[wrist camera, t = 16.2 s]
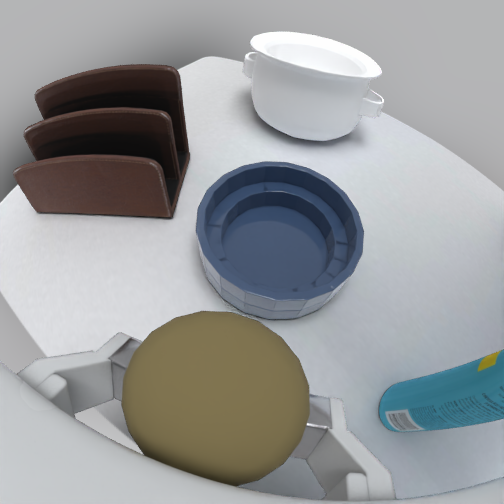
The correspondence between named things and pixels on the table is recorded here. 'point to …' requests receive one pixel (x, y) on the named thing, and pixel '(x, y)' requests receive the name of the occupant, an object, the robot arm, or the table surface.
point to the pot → (311, 84)
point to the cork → (216, 397)
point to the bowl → (278, 239)
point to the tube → (447, 397)
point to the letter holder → (108, 143)
